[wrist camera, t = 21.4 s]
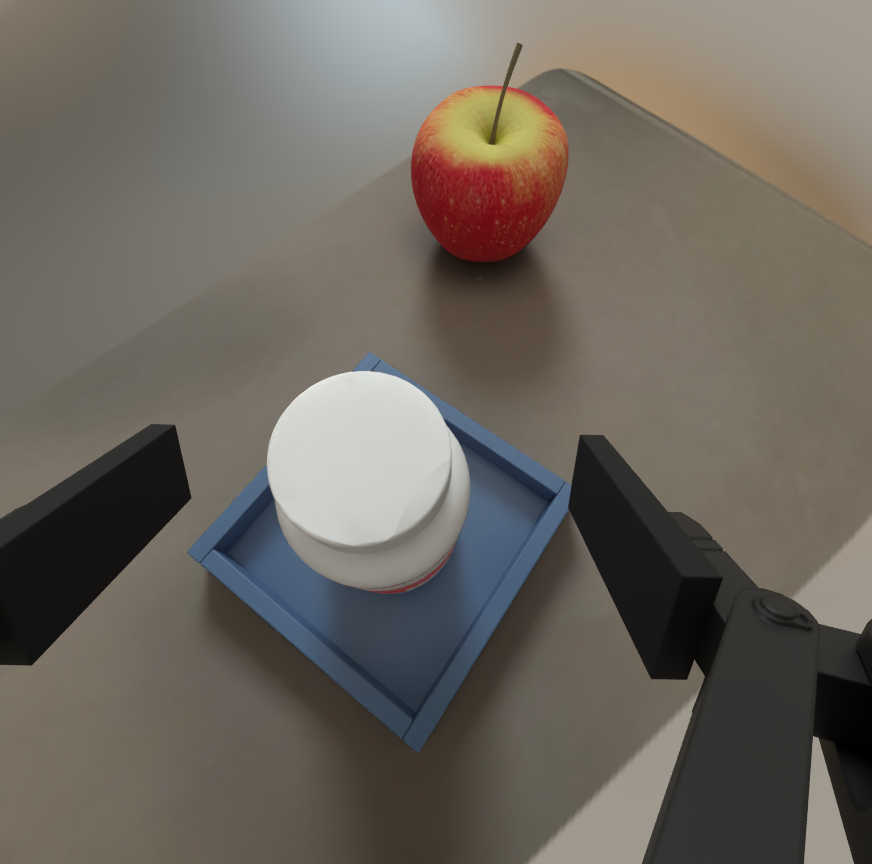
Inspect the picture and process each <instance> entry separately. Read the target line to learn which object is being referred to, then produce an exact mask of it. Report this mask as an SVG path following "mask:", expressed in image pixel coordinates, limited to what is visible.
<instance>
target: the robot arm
mask: <svg viewBox="0 0 872 864" xmlns="http://www.w3.org/2000/svg"><path fill="white" fill-rule="evenodd" d="M190 499H191V494H190V489H189V485H188V480H187V476H186V471H185V467H184V462H183V458H182V454H181V449H180V445H179V440H178V436H177V431H176V427H175V425H161V424H151V425H149V426H148V427H146V428H145V429H143V430H142V431H140V432H138V433H137V434H135V435H134V436H132V437H131V438H129V439H128V440H126V441H125V442H123V443H121V444H120V445H118V446H117V447H115V448H114V449H112V450H111V451H109V452H107V453H106V454H104V455H103V456H101V457H100V458H98V459H97V460H95V461H93V462H92V463H90V464H89V465H87V466H86V467H84V468H83V469H81V470H80V471H78V472H76V473H75V474H73V475H72V476H70V477H69V478H67V479H66V480H64V481H62V482H61V483H59V484H58V485H56V486H55V487H53V488H52V489H50V490H48V491H47V492H45V493H44V494H42V495H41V496H39V497H38V498H36V499H35V500H33V501H31V502H30V503H28V504H27V505H25V506H22V507H20V508H18V509H15V510H14V511H12V512H11V513H9V514H7V515H6V516H4V517H3V518H1V519H0V665H33V664H34V663H35V662H36V660H37V659H38V658H39V657H40V656H41V655H42V654H43V653H44V652H45V651H46V650H47V649H48V648H49V647H50V646H51V645H52V644H53V643H54V642H55V641H56V639H57V638H58V637H59V636H60V635H61V634H62V633H63V632H64V631H65V630H66V629H67V628H68V627H69V626H70V625H71V624H72V623H73V622H74V621H75V620H76V619H77V617H78V616H79V615H80V614H81V613H82V612H83V611H84V610H85V609H86V608H87V607H88V606H89V605H90V604H91V603H92V602H93V601H94V600H95V599H96V598H97V597H98V595H99V594H100V593H101V592H102V591H103V590H104V589H105V588H106V587H107V586H108V585H109V584H110V583H111V582H112V581H113V580H114V579H115V578H116V577H117V576H118V575H119V573H120V572H121V571H122V570H123V569H124V568H125V567H126V566H127V565H128V564H129V563H130V562H131V561H132V560H133V559H134V558H135V557H136V556H137V555H138V554H139V553H140V551H141V550H142V549H143V548H144V547H145V546H146V545H147V544H148V543H149V542H150V541H151V540H152V539H153V538H154V537H155V536H156V535H157V534H158V533H159V532H160V531H161V529H162V528H163V527H164V526H165V525H166V524H167V523H168V522H169V521H170V520H171V519H172V518H173V517H174V516H175V515H176V514H177V513H178V512H179V511H180V510H181V509H182V507H183V506H184V505H185V504H186V503H187V502H188V501H189V500H190ZM568 508H569V510H570V512H571V514H572V516H573V518H574V521H575V523H576V525H577V527H578V529H579V531H580V533H581V535H582V537H583V539H584V541H585V543H586V545H587V547H588V550H589V552H590V554H591V556H592V558H593V560H594V562H595V564H596V566H597V568H598V570H599V572H600V574H601V576H602V578H603V581H604V583H605V585H606V587H607V589H608V591H609V593H610V595H611V597H612V599H613V601H614V603H615V605H616V607H617V609H618V612H619V614H620V616H621V618H622V620H623V622H624V624H625V626H626V628H627V630H628V632H629V634H630V636H631V638H632V640H633V643H634V645H635V647H636V649H637V651H638V653H639V655H640V657H641V659H642V661H643V663H644V665H645V667H646V669H647V672H648V674H649V676H650V678H651V679H676V680H687V678H688V675H689V673H690V670H691V667H692V664H693V661H694V659H695V661H696V662H697V664H698V666H699V667H700V669H701V670H702V672H703V674H704V675H705V678H704V681H703V684H702V686H701V689H700V691H699V694H698V697H697V699H696V702H695V705H694V707H693V710H692V716H691V719H690V722H689V725H688V728H687V731H686V734H685V737H684V740H683V743H682V746H681V749H680V752H679V755H678V758H677V761H676V764H675V767H674V769H673V772H672V775H671V778H670V782H669V784H668V787H667V790H666V793H665V796H664V799H663V802H662V805H661V808H660V811H659V814H658V817H657V820H656V823H655V826H654V829H653V832H652V835H651V838H650V841H649V844H648V847H647V850H646V853H645V856H644V859H643V862H642V864H804V853H805V839H806V838H805V837H806V825H807V811H808V797H809V782H810V768H811V756H812V742H813V736H814V737H818V738H819V740H820V744H821V748H822V751H823V755H824V758H825V762H826V765H827V769H828V772H829V776H830V780H831V783H832V787H833V790H834V794H835V797H836V801H837V804H838V808H839V812H840V815H841V819H842V822H843V826H844V829H845V833H846V836H847V840H848V843H849V847H850V851H851V854H852V858H853V861H854V864H872V619H871V620H870V621H869V622H868V623H867V625H866V627H865V628H864V630H863V632H862V634H858V633H853V632H850V631H846V630H841V629H837V628H833V627H829V626H825V625H821V624H818V622H817V620H816V619H815V618H814V617H813V616H812V614H811V613H810V612H809V611H808V610H807V609H805V608H804V607H802V606H801V605H800V604H798V603H797V602H795V601H794V600H792V599H790V598H788V597H786V596H784V595H782V594H780V593H777V592H773V591H770V590H767V589H762V588H758V587H757V586H756V584H755V583H754V582H753V581H752V580H751V579H750V578H749V577H748V576H747V575H746V574H745V572H744V571H743V570H742V569H741V568H740V567H739V566H738V565H737V564H736V563H735V562H734V560H733V559H732V558H731V557H730V556H729V555H728V554H727V553H726V552H723V549H722V547H721V546H720V545H719V544H718V543H717V542H716V541H715V540H713V539H712V537H711V535H710V534H709V533H708V532H707V531H706V530H705V529H704V528H703V527H702V526H701V525H700V524H699V523H697V522H696V521H694V520H693V519H691V518H690V517H688V516H686V515H685V514H683V513H682V512H668V511H667V510H666V509H665V508H664V507H663V506H662V504H661V503H660V502H659V501H658V500H657V498H656V497H655V496H654V495H653V494H652V492H651V491H650V490H649V489H648V488H647V486H646V485H645V484H644V483H643V482H642V481H641V479H640V478H639V477H638V476H637V475H636V473H635V472H634V471H633V470H632V469H631V467H630V466H629V465H628V464H627V463H626V462H625V460H624V459H623V458H622V457H621V456H620V454H619V453H618V452H617V451H616V450H615V448H614V447H613V446H612V445H611V444H610V443H609V441H608V440H607V439H606V438H605V437H604V435H580V438H579V444H578V450H577V456H576V462H575V468H574V474H573V480H572V486H571V492H570V498H569V504H568Z"/></svg>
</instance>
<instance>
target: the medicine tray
mask: <svg viewBox="0 0 872 864" xmlns="http://www.w3.org/2000/svg"><path fill="white" fill-rule="evenodd" d="M356 371H371V372H381V373H385V374H389V375H392V376H396V377H398V378H400V379H403V380H405V381H407V382H409V383H410V384H412V385H414V386H415V387H416V388H418V389H419V390H421V391H422V392H423V393H424V394H425V395H426V396H427V397H428V398H429V399H430V400H431V401H432V402H433V403H434V405H435V406H436V407H437V408H438V410H439V412H440V413H441V415H442V417H443V419H444V421H445V423H446V426H447V427H448V428H449V429H450V430H451V432H452V433H453V434H454V436H455V437H456V439H457V440H458V442H459V444H460V446H461V448H462V451H463V453H464V455H465V458H466V462H467V465H468V469H469V477H470V499H469V506H468V513H467V517H466V520H465V523H464V525H463V527H462V530H461V532H460V534H459V536H458V539H457V541H456V544H455V547H454V549H453V552H452V554H451V556H450V557H449V559H448V561H447V562H446V564H445V565H444V566H443V568H442V569H441V570H440V571H439V572H438V573H437V574H436V575H435V576H434V577H433V578H432V579H430V580H429V581H428V582H426V583H425V584H423V585H421V586H419V587H417V588H415V589H413V590H410V591H406V592H402V593H395V594H383V593H374V592H370V591H366V590H362V589H358V588H353V587H348V586H345V585H342V584H340V583H337V582H334V581H332V580H330V579H328V578H326V577H324V576H322V575H321V574H319V573H317V572H316V571H314V570H313V569H312V568H310V567H309V566H308V565H307V564H305V563H304V562H303V561H302V560H301V559H300V558H299V557H298V555H297V554H296V553H295V552H294V550H293V549H292V548H291V546H290V545H289V543H288V541H287V540H286V538H285V536H284V534H283V532H282V529H281V526H280V524H279V520H278V516H277V512H276V505H275V499H274V497H273V494H272V492H271V488H270V485H269V480H268V474H267V465H266V466H265V467H264V468H263V469H262V470H261V472H260V473H259V474H258V475H257V476H256V477H255V478H254V479H253V480H252V481H251V482H250V484H249V485H248V486H247V487H246V488H245V489H244V490H243V491H242V492H241V493H240V495H239V496H238V497H237V498H236V499H235V500H234V501H233V502H232V503H231V504H230V505H229V507H228V508H227V509H226V510H225V511H224V512H223V513H222V514H221V515H220V516H219V518H218V519H217V520H216V521H215V522H214V523H213V524H212V525H211V526H210V527H209V529H208V530H207V531H206V532H205V533H204V534H203V535H202V536H201V537H200V538H199V539H198V541H197V542H196V543H195V544H194V545H193V546H192V547H191V548H190V549H189V550H188V552H187V553H188V554H189V555H190V556H191V557H192V558H193V559H195V560H196V561H197V562H198V563H201V565H202V566H203V567H204V568H205V569H206V570H208V571H209V572H210V573H211V574H212V575H213V576H214V577H216V578H217V579H218V580H219V581H220V582H221V583H222V584H224V585H225V586H226V587H227V588H228V589H229V590H230V591H232V592H233V593H234V594H235V595H236V596H237V597H239V598H240V599H241V600H242V601H243V602H244V603H245V604H247V605H248V606H249V607H250V608H251V609H252V610H253V611H255V612H256V613H257V614H258V615H259V616H260V617H261V618H263V619H264V620H265V621H266V622H267V623H268V624H269V625H271V626H272V627H273V628H274V629H275V630H276V631H278V632H279V633H280V634H281V635H282V636H283V637H284V638H286V639H287V640H288V641H289V642H290V643H291V644H292V645H294V646H295V647H296V648H297V649H298V650H299V651H300V652H302V653H303V654H304V655H305V656H306V657H307V658H308V659H310V660H311V661H312V662H313V663H314V664H315V665H317V666H318V667H319V668H320V669H321V670H322V671H323V672H325V673H326V674H327V675H328V676H329V677H330V678H331V679H333V680H334V681H335V682H336V683H337V684H338V685H339V686H341V687H342V688H343V689H344V690H345V691H346V692H347V693H349V694H350V695H351V696H352V697H353V698H354V699H356V700H357V701H358V702H359V703H360V704H361V705H362V706H364V707H365V708H366V709H367V710H368V711H369V712H370V713H372V714H373V715H374V716H375V717H376V718H377V719H378V720H380V721H381V722H382V723H383V724H384V725H385V726H387V727H388V728H389V729H390V730H391V731H392V732H393V733H395V734H396V735H397V736H398V737H399V738H403V741H404V742H405V743H406V744H407V745H408V746H410V747H411V748H412V749H413V750H414V751H415V752H417V753H419V752H420V751H421V749H422V747H423V746H424V744H425V742H426V741H427V739H428V738H429V736H430V734H431V733H432V731H433V729H434V728H435V726H436V725H437V723H438V721H439V720H440V718H441V717H442V715H443V713H444V712H445V710H446V708H447V707H448V705H449V704H450V702H451V700H452V699H453V697H454V695H455V694H456V692H457V691H458V689H459V687H460V686H461V684H462V682H463V681H464V679H465V678H466V676H467V674H468V673H469V671H470V670H471V668H472V666H473V665H474V663H475V661H476V660H477V658H478V657H479V655H480V653H481V652H482V650H483V648H484V647H485V645H486V644H487V642H488V640H489V639H490V637H491V636H492V634H493V632H494V631H495V629H496V627H497V626H498V624H499V623H500V621H501V619H502V618H503V616H504V614H505V613H506V611H507V610H508V608H509V606H510V605H511V603H512V601H513V600H514V598H515V597H516V595H517V593H518V592H519V590H520V589H521V587H522V585H523V584H524V582H525V580H526V579H527V577H528V576H529V574H530V572H531V571H532V569H533V567H534V566H535V564H536V563H537V561H538V559H539V558H540V556H541V555H542V553H543V551H544V550H545V548H546V546H547V545H548V543H549V542H550V540H551V538H552V537H553V535H554V533H555V532H556V530H557V529H558V527H559V525H560V524H561V522H562V520H563V519H564V517H565V516H566V514H567V512H568V511H569V508H568V504H569V498H570V492H571V485H570V484H568V483H565V481H564V480H563V479H561V478H560V477H558V476H557V475H555V474H553V473H552V472H550V471H549V470H547V469H546V468H544V467H543V466H541V465H540V464H538V463H537V462H535V461H534V460H532V459H531V458H529V457H528V456H526V455H525V454H523V453H522V452H520V451H519V450H517V449H516V448H514V447H513V446H511V445H510V444H508V443H507V442H505V441H504V440H502V439H500V438H499V437H497V436H496V435H494V434H493V433H491V432H490V431H488V430H487V429H485V428H484V427H482V426H481V425H479V424H478V423H476V422H475V421H473V420H472V419H470V418H469V417H467V416H466V415H464V414H463V413H461V412H460V411H458V410H457V409H455V408H454V407H452V406H450V405H449V404H447V403H446V402H444V401H443V400H441V399H440V398H438V397H437V396H435V395H434V394H432V393H431V392H429V391H428V390H426V389H425V388H423V387H422V386H420V385H419V384H417V383H416V382H414V381H413V380H411V379H410V378H408V377H407V376H405V375H404V374H402V373H401V372H399V371H397V370H396V369H394V368H393V367H391V366H390V365H388V364H387V363H385V362H384V361H382V360H381V359H379V358H378V357H376V356H375V355H373V354H372V353H370V352H369V353H368V354H367V355H366V356H365V358H364V359H363V360H362V361H361V362H360V363H359V364H358V365H357V366H356V367H355V369H354V370H353V371H352V372H356Z"/></svg>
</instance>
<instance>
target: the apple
mask: <svg viewBox="0 0 872 864" xmlns="http://www.w3.org/2000/svg"><path fill="white" fill-rule="evenodd" d="M521 49H522V45H521V44H519V43H517V45H516V48H515V50H514V53H513V56H512V59H511V62H510V65H509V68H508V72H507V75H506V78H505V82H504V85H503V86H478V87H471V88H466V89H463V90H460V91H457V92H455V93H453V94H451V95H450V96H448V97H447V98H446V99H445V100H443V101H442V102H441V103H440V104H439V105H438V106H437V107H436V108H435V109H434V110H433V111H432V112H431V113H430V115H429V116H428V117H427V118H426V120H425V121H424V123H423V125H422V127H421V129H420V131H419V133H418V135H417V138H416V141H415V145H414V148H413V153H412V161H411V179H412V186H413V192H414V196H415V199H416V203H417V206H418V208H419V211H420V213H421V216H422V218H423V220H424V222H425V223H426V225H427V227H428V228H429V230H430V232H431V233H432V234H433V236H434V237H435V238H436V239H437V241H438V242H439V243H440V244H441V245H442V246H443V247H444V248H445V249H446V250H447V251H448V252H450V253H451V254H452V255H454V256H456V257H458V258H460V259H464V260H468V261H475V262H492V261H499V260H503V259H506V258H508V257H510V256H512V255H514V254H516V253H517V252H519V251H520V250H522V249H523V248H524V247H525V246H526V245H527V244H528V243H530V242H531V241H532V240H533V239H534V237H535V236H536V235H537V234H538V233H539V231H540V230H541V229H542V228H543V226H544V225H545V223H546V222H547V220H548V218H549V217H550V215H551V214H552V212H553V210H554V208H555V206H556V203H557V201H558V199H559V197H560V194H561V191H562V188H563V185H564V181H565V178H566V173H567V166H568V141H567V135H566V133H565V130H564V128H563V126H562V125H561V123H560V121H559V120H558V118H557V117H556V115H555V114H554V113H553V112H552V111H551V110H550V109H549V108H548V107H547V106H546V105H545V104H544V103H542V102H541V101H540V100H539V99H537V98H536V97H534V96H532V95H531V94H529V93H527V92H525V91H522V90H519V89H515V88H511V87H507V86H508V83H509V80H510V78H511V75H512V72H513V70H514V67H515V64H516V62H517V59H518V56H519V54H520V51H521Z"/></svg>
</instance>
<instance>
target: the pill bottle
mask: <svg viewBox="0 0 872 864" xmlns="http://www.w3.org/2000/svg"><path fill="white" fill-rule="evenodd" d="M267 474H268V480H269V485H270V488H271V492H272V494H273V497H274V499H275V505H276V512H277V516H278V520H279V524H280V526H281V529H282V532H283V534H284V536H285V538H286V540H287V541H288V543H289V545H290V546H291V548H292V549H293V550H294V552H295V553H296V554H297V555H298V557H299V558H300V559H301V560H302V561H303V562H304V563H305V564H307V565H308V566H309V567H310V568H312V569H313V570H314V571H316V572H317V573H319V574H321V575H322V576H324V577H326V578H328V579H330V580H332V581H334V582H337V583H340V584H342V585H345V586H348V587H353V588H358V589H362V590H366V591H370V592H374V593H383V594H395V593H402V592H406V591H410V590H413V589H415V588H417V587H419V586H421V585H423V584H425V583H426V582H428V581H429V580H430V579H432V578H433V577H434V576H435V575H436V574H437V573H438V572H439V571H440V570H441V569H442V568H443V566H444V565H445V564H446V562H447V561H448V559H449V557H450V556H451V554H452V552H453V549H454V547H455V544H456V541H457V539H458V536H459V534H460V532H461V530H462V527H463V525H464V523H465V520H466V517H467V513H468V506H469V499H470V477H469V469H468V465H467V462H466V458H465V455H464V453H463V451H462V448H461V446H460V444H459V442H458V440H457V439H456V437H455V436H454V434H453V433H452V432H451V430H450V429H449V428H448V427H447V426H446V423H445V421H444V419H443V417H442V415H441V413H440V412H439V410H438V408H437V407H436V406H435V405H434V403H433V402H432V401H431V400H430V399H429V398H428V397H427V396H426V395H425V394H424V393H423V392H422V391H421V390H419V389H418V388H416V387H415V386H414V385H412V384H410V383H409V382H407V381H405V380H403V379H400V378H398V377H396V376H392V375H389V374H385V373H381V372H371V371H356V372H348V373H343V374H339V375H335V376H332V377H329V378H327V379H324V380H322V381H320V382H318V383H316V384H314V385H313V386H311V387H309V388H308V389H307V390H306V391H304V392H303V393H301V394H300V395H299V396H298V397H297V398H296V399H295V400H294V401H293V402H292V403H291V404H290V405H289V406H288V407H287V409H286V410H285V411H284V413H283V414H282V416H281V417H280V419H279V420H278V422H277V424H276V426H275V429H274V431H273V433H272V436H271V439H270V442H269V448H268V454H267Z"/></svg>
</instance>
